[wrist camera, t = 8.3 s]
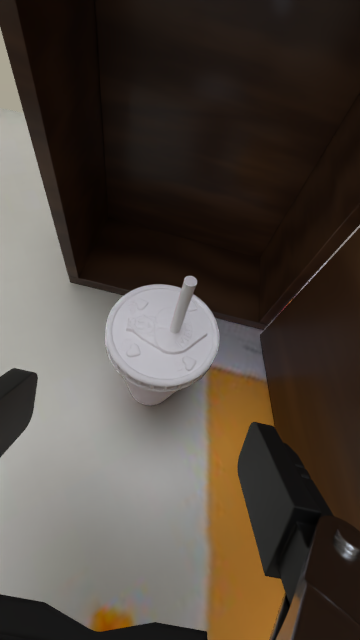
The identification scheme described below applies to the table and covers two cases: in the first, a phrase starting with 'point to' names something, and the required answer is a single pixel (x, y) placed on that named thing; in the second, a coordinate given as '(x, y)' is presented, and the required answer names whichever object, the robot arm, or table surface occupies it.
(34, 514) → the table surface
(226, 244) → the cupboard
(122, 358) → the smoothie
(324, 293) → the cupboard door
